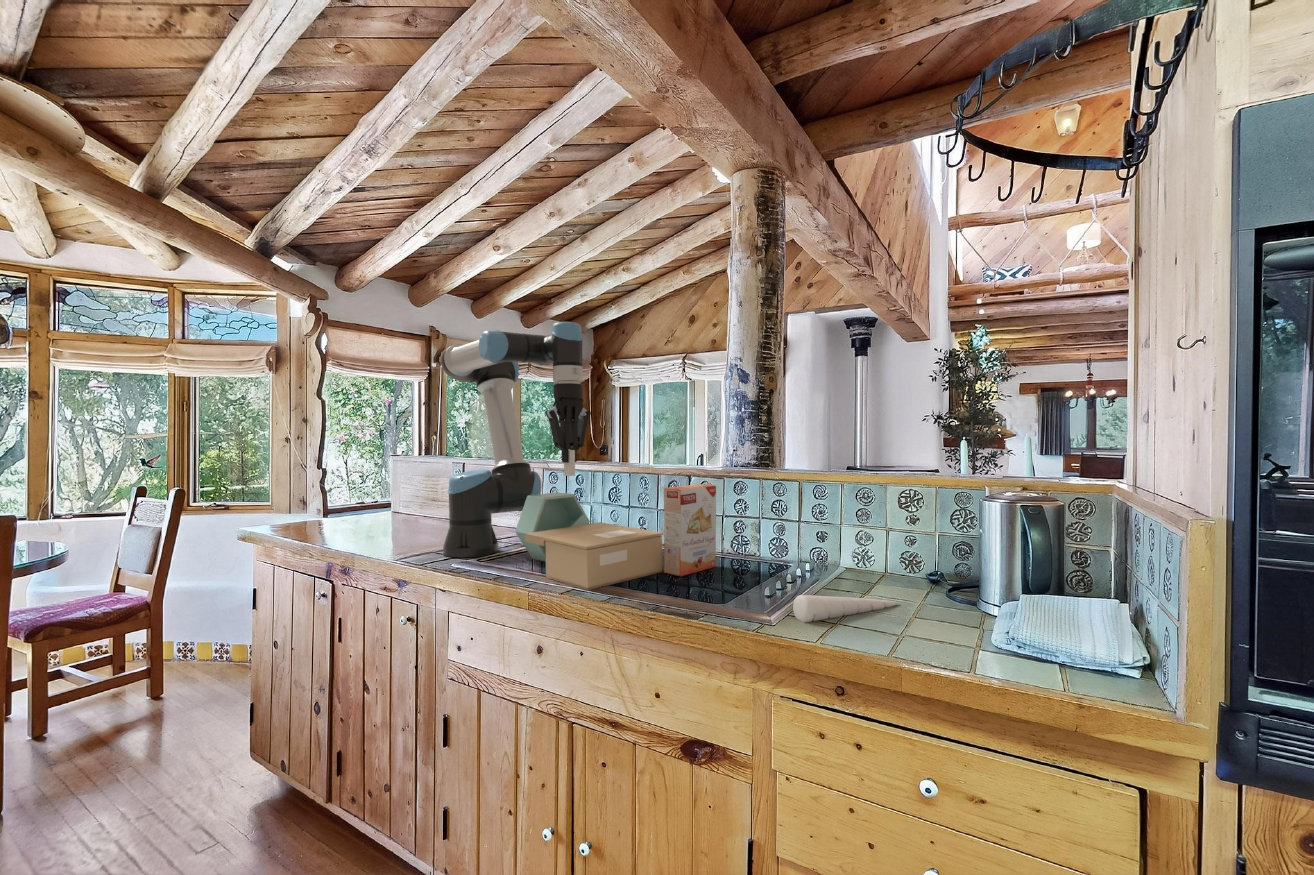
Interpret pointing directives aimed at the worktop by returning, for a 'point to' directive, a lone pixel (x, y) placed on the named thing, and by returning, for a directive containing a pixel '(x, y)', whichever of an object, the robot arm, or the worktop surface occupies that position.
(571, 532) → the lid
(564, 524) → the planter
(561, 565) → the mailer
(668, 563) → the cracker box
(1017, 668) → the worktop surface
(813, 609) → the unicorn horn
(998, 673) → the worktop surface
